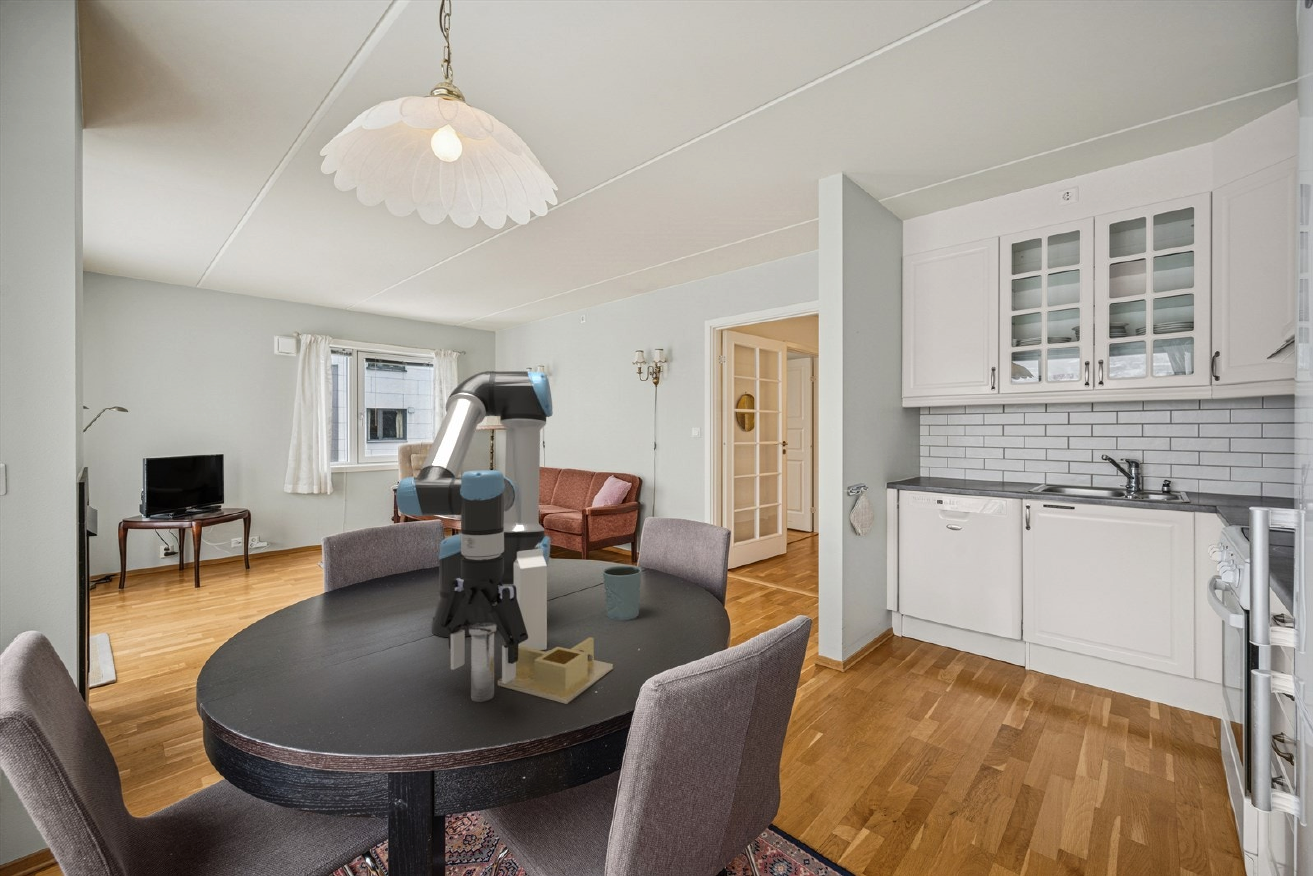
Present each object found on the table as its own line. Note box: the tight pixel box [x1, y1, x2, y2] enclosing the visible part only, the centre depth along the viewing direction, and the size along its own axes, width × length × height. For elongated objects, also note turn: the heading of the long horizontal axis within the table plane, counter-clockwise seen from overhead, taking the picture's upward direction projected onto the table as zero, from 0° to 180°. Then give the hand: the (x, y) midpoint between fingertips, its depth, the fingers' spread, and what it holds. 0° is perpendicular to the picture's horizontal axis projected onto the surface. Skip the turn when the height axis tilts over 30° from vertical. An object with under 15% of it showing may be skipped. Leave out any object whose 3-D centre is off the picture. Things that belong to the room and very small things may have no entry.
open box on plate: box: [497, 637, 613, 705], centre depth 107 cm, size 16×16×6 cm
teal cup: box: [602, 565, 642, 621], centre depth 143 cm, size 10×10×12 cm
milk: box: [513, 549, 548, 651], centre depth 121 cm, size 6×6×22 cm
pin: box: [469, 622, 497, 703], centre depth 99 cm, size 5×5×13 cm
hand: (482, 673), depth 99 cm, fingers open, 12 cm apart
